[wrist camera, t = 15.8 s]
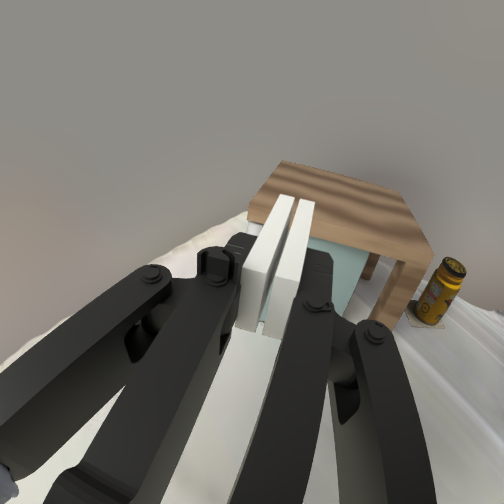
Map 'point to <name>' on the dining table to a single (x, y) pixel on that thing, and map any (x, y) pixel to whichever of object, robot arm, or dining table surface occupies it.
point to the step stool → (355, 226)
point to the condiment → (437, 295)
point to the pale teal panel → (344, 267)
